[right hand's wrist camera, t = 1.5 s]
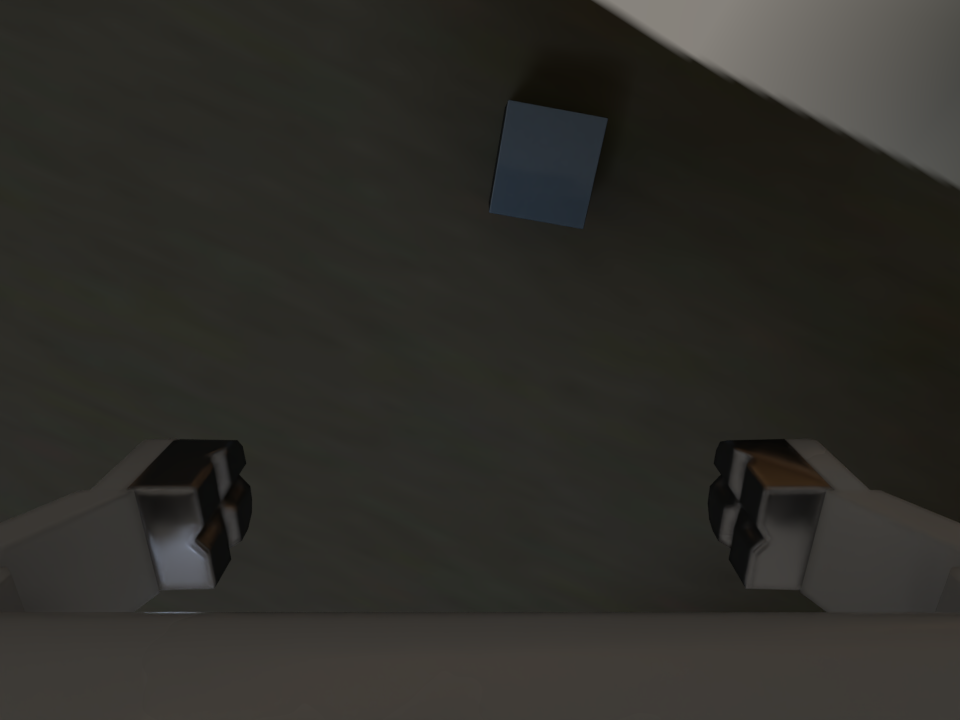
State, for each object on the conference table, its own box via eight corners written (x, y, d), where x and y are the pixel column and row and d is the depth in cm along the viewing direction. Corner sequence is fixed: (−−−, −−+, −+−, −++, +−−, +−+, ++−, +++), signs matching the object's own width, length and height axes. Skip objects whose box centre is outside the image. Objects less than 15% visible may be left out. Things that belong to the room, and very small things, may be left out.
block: (505, 106, 30) (508, 99, 26) (591, 122, 30) (608, 118, 26) (488, 203, 32) (489, 212, 27) (570, 218, 32) (583, 229, 27)
